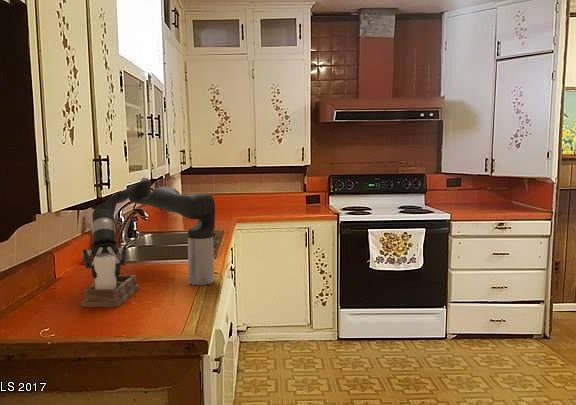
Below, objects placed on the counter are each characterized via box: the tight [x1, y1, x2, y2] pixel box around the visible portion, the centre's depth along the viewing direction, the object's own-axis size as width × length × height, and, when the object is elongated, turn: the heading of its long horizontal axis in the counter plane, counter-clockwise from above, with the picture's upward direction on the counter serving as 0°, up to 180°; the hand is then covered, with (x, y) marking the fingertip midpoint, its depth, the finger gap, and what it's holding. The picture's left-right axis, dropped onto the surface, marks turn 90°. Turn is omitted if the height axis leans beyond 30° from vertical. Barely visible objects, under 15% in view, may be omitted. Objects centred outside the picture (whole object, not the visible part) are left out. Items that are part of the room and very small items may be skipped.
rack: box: [80, 274, 140, 308], centre depth 162 cm, size 21×12×5 cm, turn 1°
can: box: [93, 253, 116, 290], centre depth 156 cm, size 6×6×12 cm
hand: (106, 276), depth 155 cm, fingers closed on can, 6 cm apart
